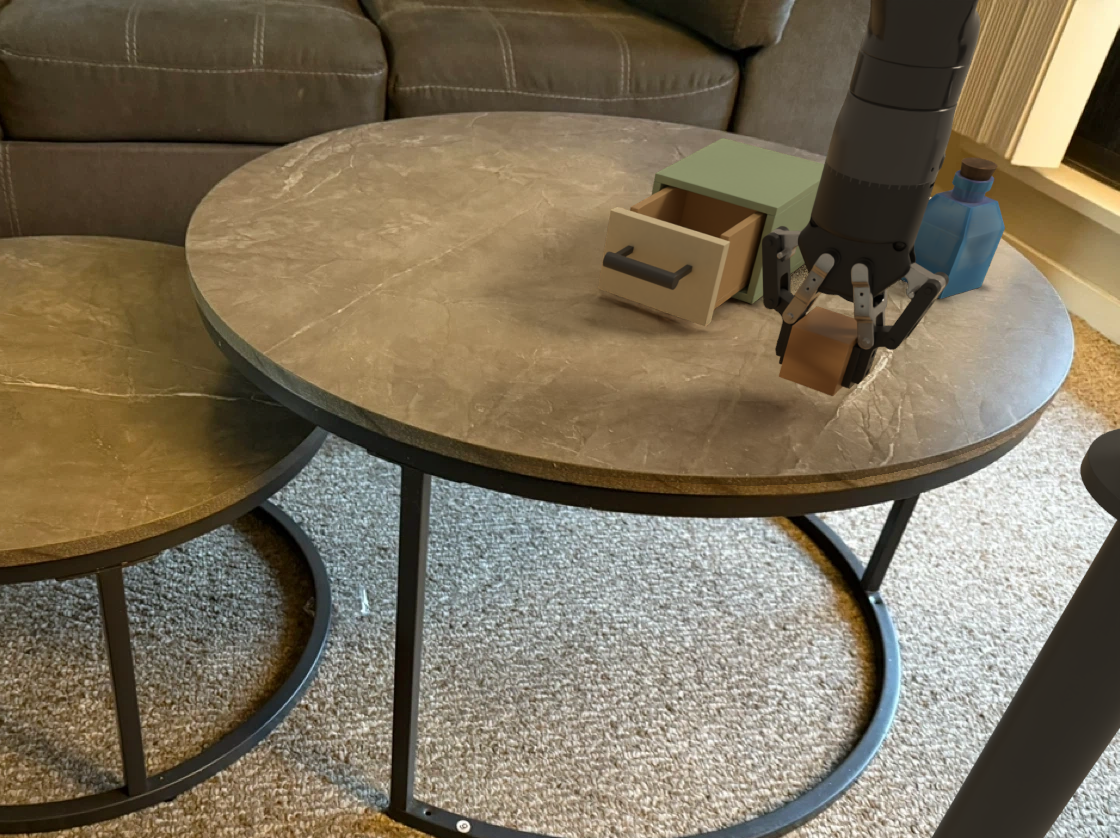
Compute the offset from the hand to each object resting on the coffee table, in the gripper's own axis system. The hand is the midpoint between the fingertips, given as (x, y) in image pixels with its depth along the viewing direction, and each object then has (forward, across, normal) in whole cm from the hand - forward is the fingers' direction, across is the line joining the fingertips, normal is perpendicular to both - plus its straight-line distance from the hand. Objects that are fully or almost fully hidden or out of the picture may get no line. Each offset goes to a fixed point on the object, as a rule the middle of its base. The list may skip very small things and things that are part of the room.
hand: (818, 371), depth 85 cm
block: (0, 0, 0) cm, 0 cm away
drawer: (+2, -18, +10) cm, 21 cm away
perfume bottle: (+4, -1, +33) cm, 34 cm away
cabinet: (+4, -18, +22) cm, 29 cm away
